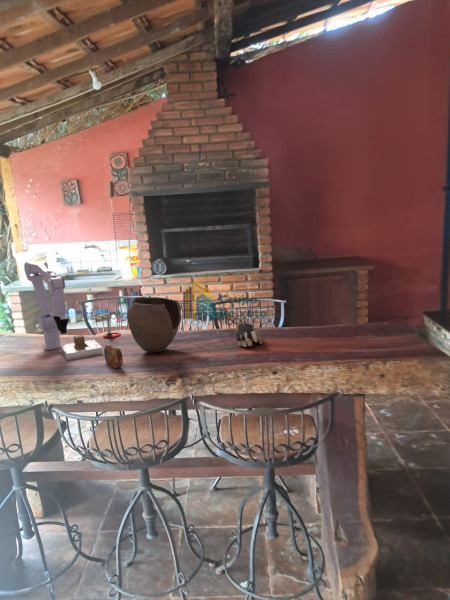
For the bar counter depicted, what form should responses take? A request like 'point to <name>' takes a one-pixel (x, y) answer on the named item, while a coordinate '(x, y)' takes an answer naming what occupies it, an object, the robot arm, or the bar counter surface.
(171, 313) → the clay pot
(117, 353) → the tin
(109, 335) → the tow hook
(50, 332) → the robot arm
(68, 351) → the collar
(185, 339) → the bar counter surface
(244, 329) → the glove
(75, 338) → the pin
